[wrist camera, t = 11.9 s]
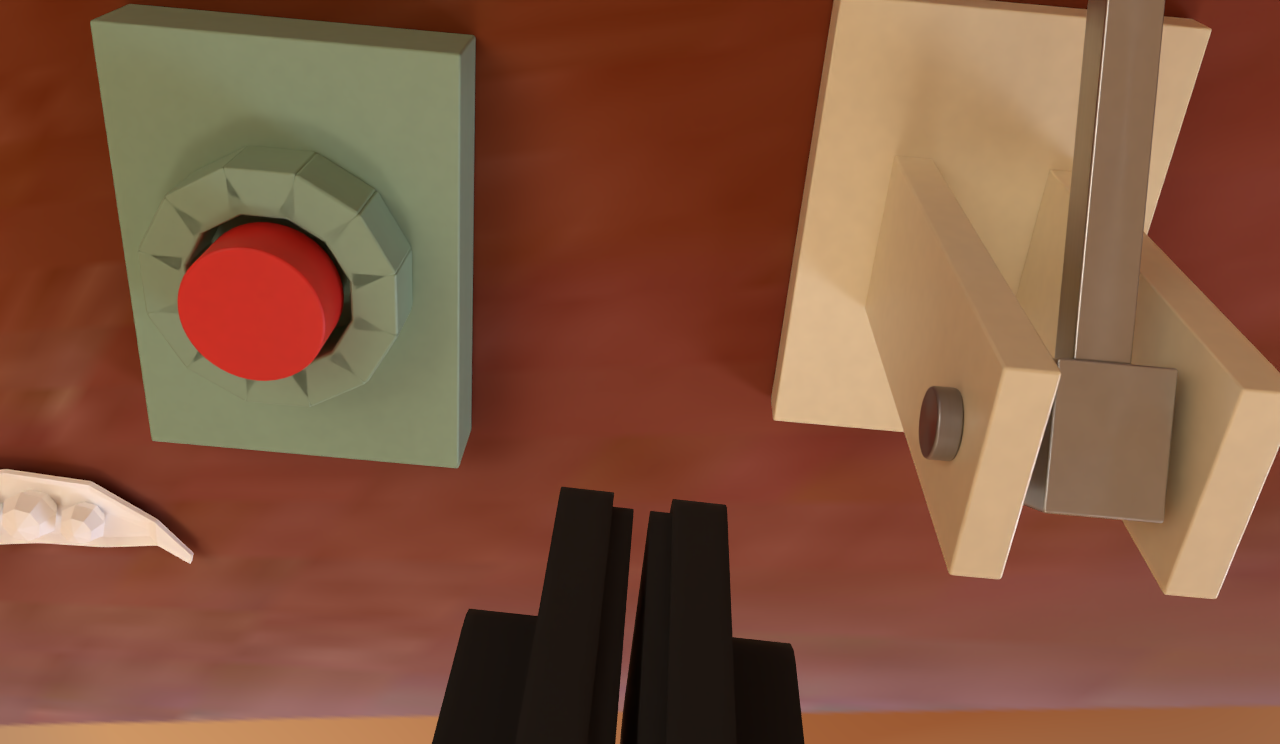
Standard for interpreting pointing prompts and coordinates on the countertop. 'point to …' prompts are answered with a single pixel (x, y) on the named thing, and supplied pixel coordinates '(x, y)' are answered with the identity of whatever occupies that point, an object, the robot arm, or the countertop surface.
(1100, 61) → the lever
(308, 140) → the button box
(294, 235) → the button
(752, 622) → the countertop surface
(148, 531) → the pea pod
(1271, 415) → the bracket
